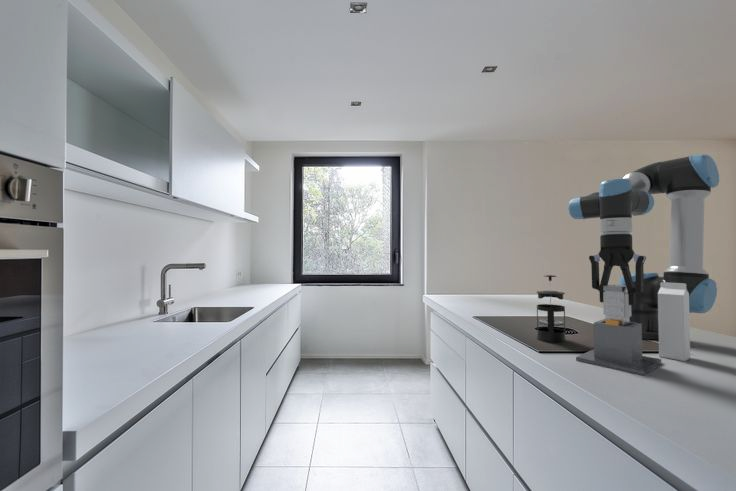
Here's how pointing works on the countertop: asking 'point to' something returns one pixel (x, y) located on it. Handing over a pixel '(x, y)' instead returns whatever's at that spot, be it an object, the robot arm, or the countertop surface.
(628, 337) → the base
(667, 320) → the milk
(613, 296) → the column
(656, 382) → the countertop surface
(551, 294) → the french press
